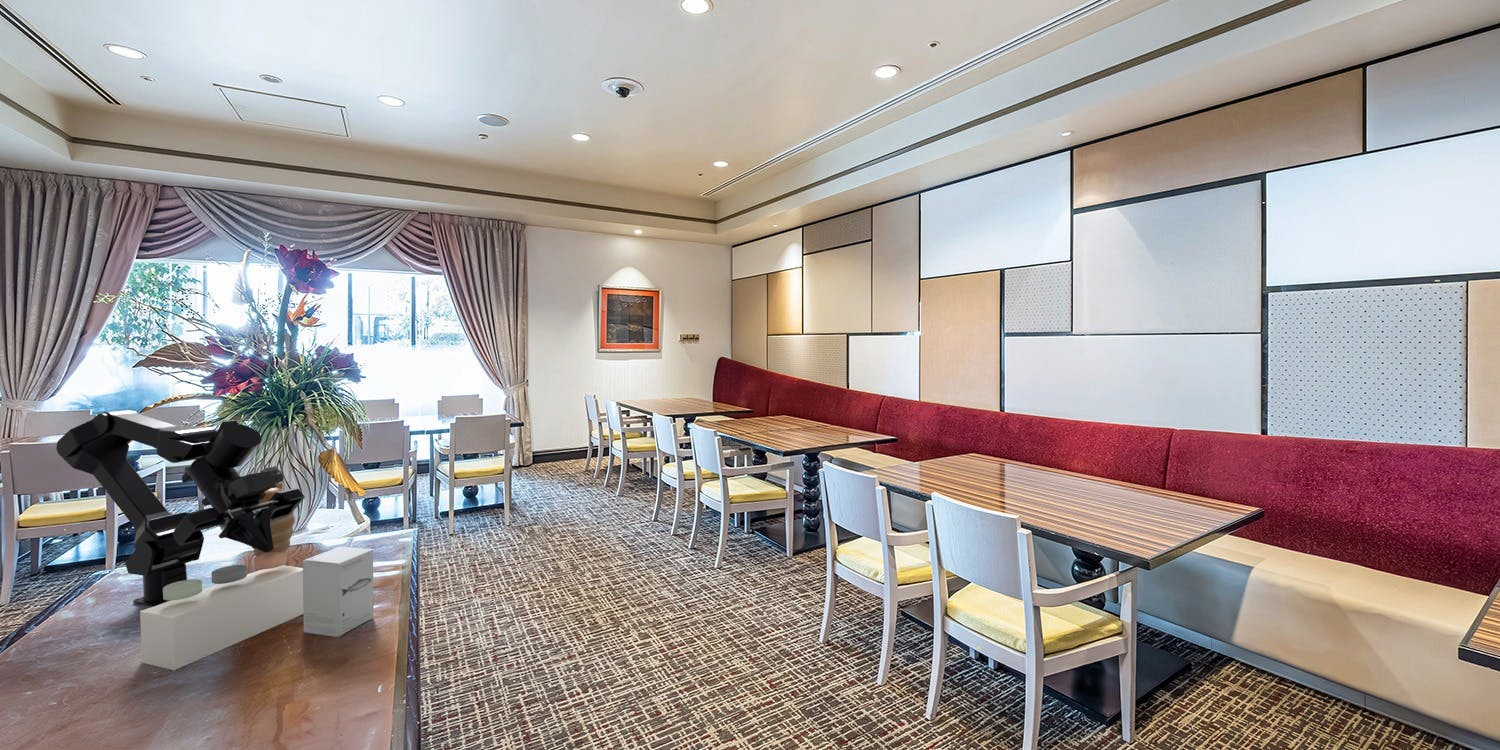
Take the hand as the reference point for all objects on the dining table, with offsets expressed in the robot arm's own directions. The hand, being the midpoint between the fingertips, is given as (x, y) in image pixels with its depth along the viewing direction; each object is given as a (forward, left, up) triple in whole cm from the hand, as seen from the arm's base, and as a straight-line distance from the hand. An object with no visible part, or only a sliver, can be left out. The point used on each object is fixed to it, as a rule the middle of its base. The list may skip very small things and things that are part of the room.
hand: (270, 550), depth 105 cm
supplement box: (+14, +1, -12) cm, 19 cm away
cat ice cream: (-23, +16, -12) cm, 30 cm away
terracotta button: (0, 0, -3) cm, 3 cm away
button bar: (+1, -7, -12) cm, 14 cm away
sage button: (0, -13, -3) cm, 13 cm away
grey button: (0, -7, -3) cm, 7 cm away
